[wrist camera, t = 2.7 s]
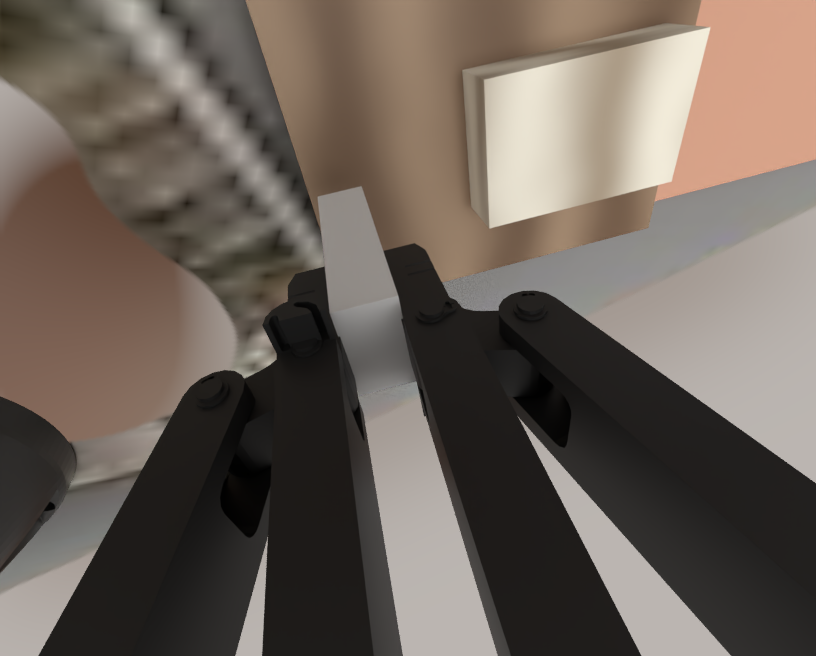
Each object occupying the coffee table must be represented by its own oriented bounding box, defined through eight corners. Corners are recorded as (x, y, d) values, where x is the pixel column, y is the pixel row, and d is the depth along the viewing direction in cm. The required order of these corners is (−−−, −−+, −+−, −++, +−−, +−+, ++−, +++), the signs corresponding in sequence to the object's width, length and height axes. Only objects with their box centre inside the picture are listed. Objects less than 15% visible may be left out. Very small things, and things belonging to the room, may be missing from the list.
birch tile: (471, 206, 21) (489, 228, 19) (462, 69, 17) (483, 79, 15) (637, 164, 22) (671, 181, 20) (665, 23, 18) (710, 27, 16)
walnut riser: (338, 270, 26) (345, 308, 23) (248, -16, 17) (239, -18, 14) (608, 201, 27) (648, 227, 24) (656, -101, 18) (729, -119, 15)
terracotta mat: (614, 206, 28) (619, 210, 27) (669, -120, 18) (679, -123, 18) (831, 150, 29) (840, 153, 28) (993, -186, 19) (1010, -191, 19)
